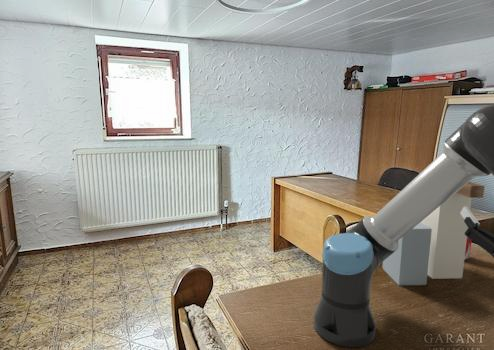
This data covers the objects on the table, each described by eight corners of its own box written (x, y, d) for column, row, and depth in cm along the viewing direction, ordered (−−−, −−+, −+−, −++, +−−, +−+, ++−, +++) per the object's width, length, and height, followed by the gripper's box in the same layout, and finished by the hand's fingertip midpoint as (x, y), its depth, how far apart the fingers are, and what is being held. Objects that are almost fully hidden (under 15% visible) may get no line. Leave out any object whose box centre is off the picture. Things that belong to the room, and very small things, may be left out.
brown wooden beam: (461, 197, 92) (462, 186, 92) (419, 183, 114) (420, 173, 114) (491, 197, 93) (492, 185, 92) (444, 183, 114) (445, 173, 114)
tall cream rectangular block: (432, 278, 106) (441, 191, 101) (409, 259, 121) (415, 182, 116) (462, 278, 106) (472, 191, 101) (435, 259, 121) (442, 182, 116)
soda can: (473, 261, 119) (477, 230, 117) (454, 261, 119) (458, 230, 117) (461, 253, 126) (464, 224, 124) (443, 253, 126) (446, 224, 124)
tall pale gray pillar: (398, 285, 102) (403, 229, 98) (382, 268, 113) (385, 217, 110) (426, 284, 102) (431, 228, 99) (407, 267, 114) (411, 217, 110)
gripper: (480, 285, 75) (438, 218, 91) (584, 284, 75) (523, 218, 91) (496, 267, 70) (448, 200, 86) (607, 266, 70) (539, 199, 87)
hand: (487, 209), depth 89 cm, fingers open, 13 cm apart
